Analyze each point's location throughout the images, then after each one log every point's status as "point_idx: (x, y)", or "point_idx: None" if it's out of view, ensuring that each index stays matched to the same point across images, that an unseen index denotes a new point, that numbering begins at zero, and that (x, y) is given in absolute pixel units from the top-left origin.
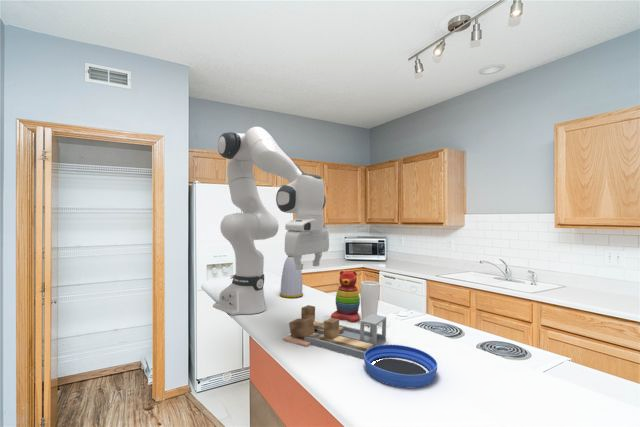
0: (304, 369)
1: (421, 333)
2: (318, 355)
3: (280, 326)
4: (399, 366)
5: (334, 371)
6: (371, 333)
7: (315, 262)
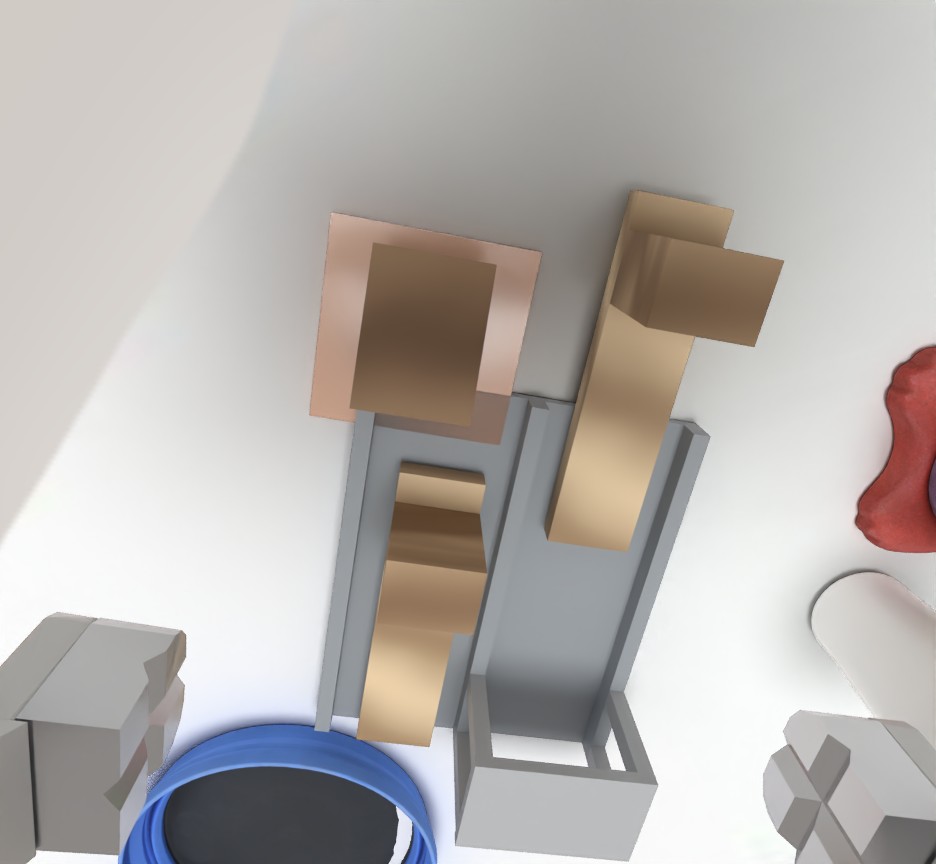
0: (50, 512)
1: (769, 843)
2: (241, 511)
3: (597, 34)
4: (316, 830)
5: None
6: (606, 695)
7: (817, 845)
